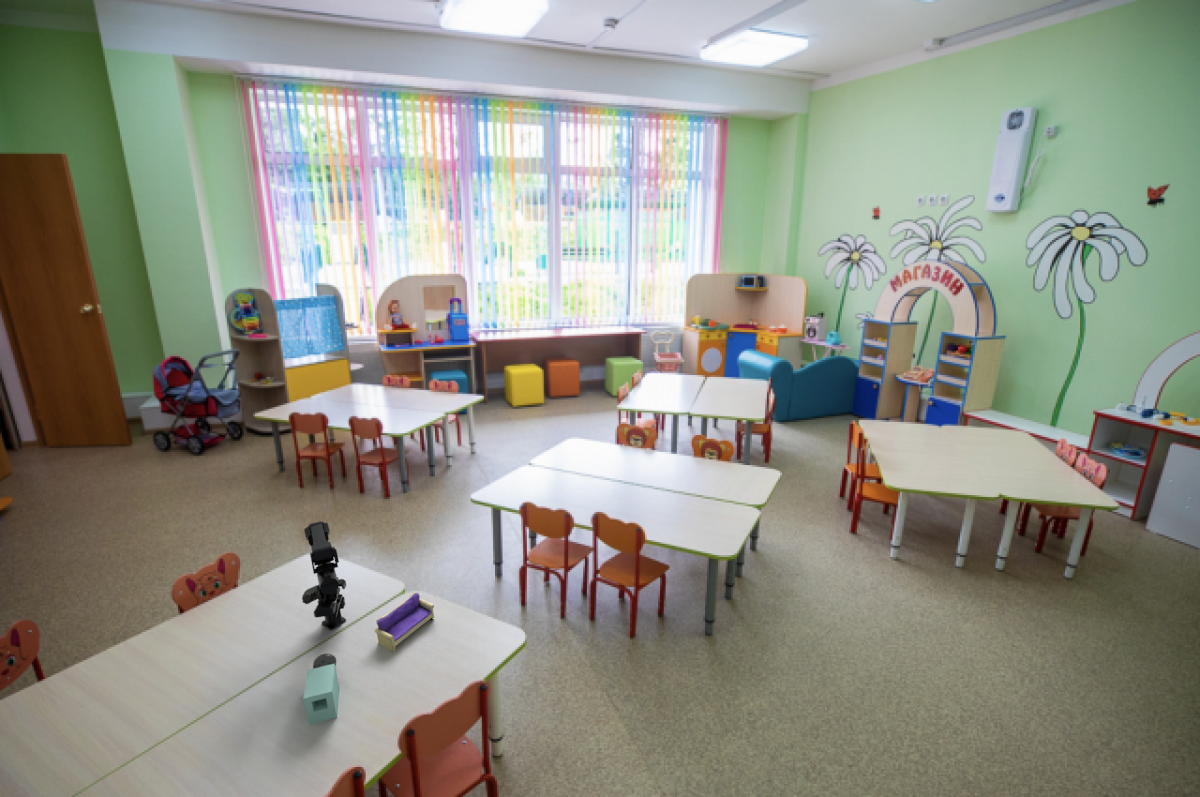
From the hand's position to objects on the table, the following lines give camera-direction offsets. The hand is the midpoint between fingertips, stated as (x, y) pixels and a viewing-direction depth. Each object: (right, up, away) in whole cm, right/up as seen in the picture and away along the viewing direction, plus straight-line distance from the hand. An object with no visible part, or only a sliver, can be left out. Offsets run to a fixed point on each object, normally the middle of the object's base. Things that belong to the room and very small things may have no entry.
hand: (334, 618), depth 204 cm
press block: (+6, -20, -20) cm, 30 cm away
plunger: (+4, -16, -16) cm, 23 cm away
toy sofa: (+22, -10, +12) cm, 27 cm away
